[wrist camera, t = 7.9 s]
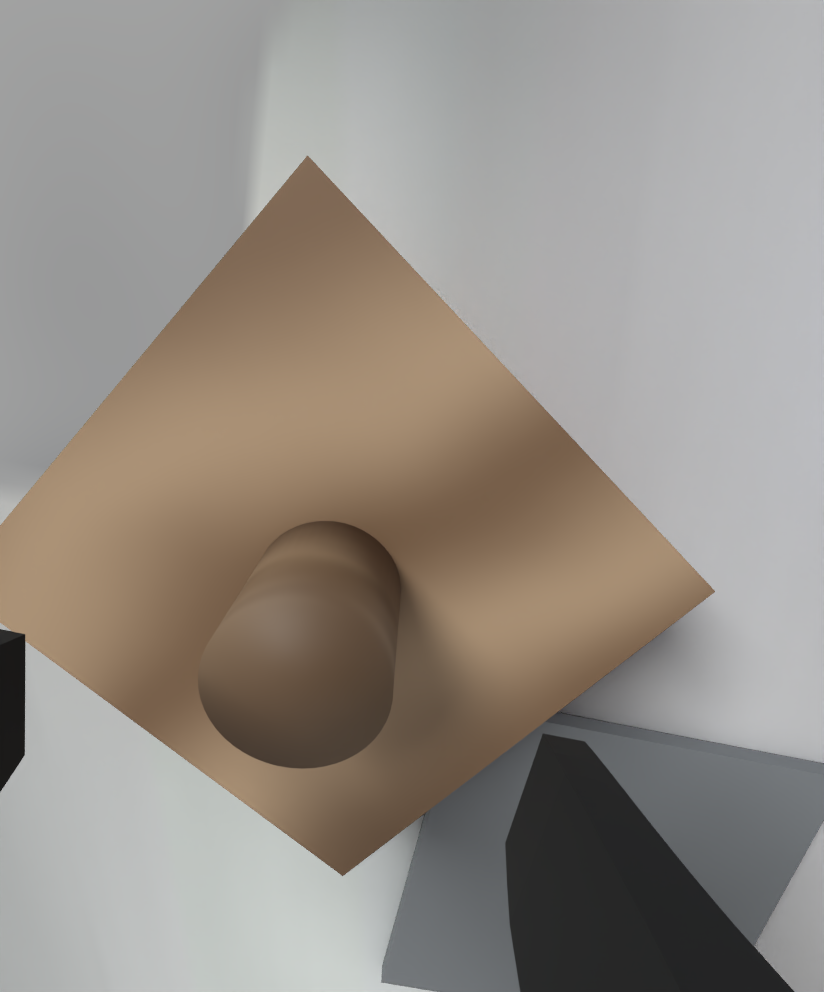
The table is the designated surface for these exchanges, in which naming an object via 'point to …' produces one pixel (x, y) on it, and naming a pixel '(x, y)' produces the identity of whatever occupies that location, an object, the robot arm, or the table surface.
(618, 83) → the table surface
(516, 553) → the lid
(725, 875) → the mat
